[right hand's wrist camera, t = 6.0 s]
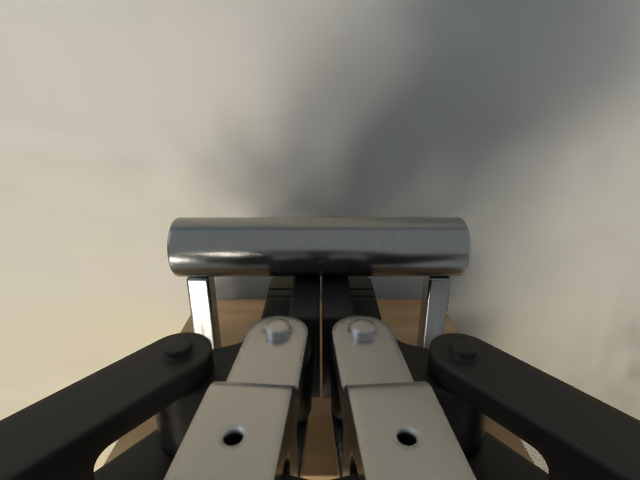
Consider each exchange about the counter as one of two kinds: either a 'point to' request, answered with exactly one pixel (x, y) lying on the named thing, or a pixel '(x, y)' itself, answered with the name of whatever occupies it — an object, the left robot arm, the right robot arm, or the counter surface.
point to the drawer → (320, 260)
